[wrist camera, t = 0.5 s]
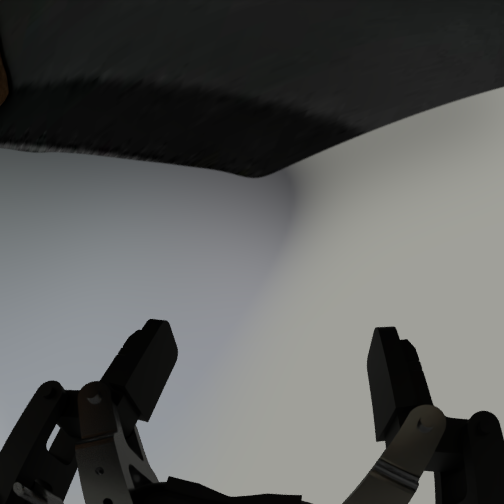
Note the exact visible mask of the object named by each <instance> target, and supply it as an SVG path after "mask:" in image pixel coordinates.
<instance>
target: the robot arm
mask: <svg viewBox="0 0 504 504" xmlns="http://www.w3.org/2000/svg"><path fill="white" fill-rule="evenodd" d="M177 356H178V349H177V345H176V342H175V339H174V336H173V333H172V330H171V327H170V324H169V322H168V321H164V320H156V319H150V320H148V321H147V322H146V324H145V325H144V327H143V328H142V330H137V331H136V332H135V333H133V334H132V335H131V336H130V337H129V338H128V339H127V341H126V342H125V343H124V345H123V348H121V350H120V351H119V353H118V355H117V356H116V357H115V358H114V360H113V362H112V363H111V365H110V366H109V368H108V369H107V371H106V372H105V374H104V376H103V377H102V378H101V380H100V381H94V382H90V383H88V384H86V385H85V386H83V387H82V389H81V390H64V388H63V387H62V386H61V384H60V383H59V382H57V381H48V382H45V383H43V384H42V385H41V386H40V387H39V388H38V390H37V391H36V393H35V394H34V396H33V398H32V399H31V401H30V402H29V404H28V405H27V407H26V409H25V410H24V412H23V413H22V415H21V417H20V419H19V420H18V422H17V423H16V425H15V427H14V428H13V430H12V432H11V434H10V435H9V437H8V439H7V441H6V443H5V444H4V446H3V448H2V450H1V452H0V504H64V503H63V501H64V499H65V496H66V494H67V491H68V489H69V487H70V484H71V482H72V480H73V477H74V475H75V472H76V470H77V468H78V471H79V476H80V482H81V486H82V491H83V495H84V499H85V503H86V504H311V503H309V502H304V501H301V499H302V495H279V494H261V495H252V496H239V497H230V496H226V495H224V494H221V493H219V492H217V491H214V490H212V489H210V488H208V487H205V486H203V485H201V484H199V483H194V482H190V481H185V480H182V479H178V478H174V477H170V476H169V477H168V480H167V482H159V481H158V479H157V477H156V475H155V473H154V472H153V470H152V469H151V467H150V465H149V463H148V461H147V458H146V455H145V452H144V449H143V446H142V443H141V439H140V436H139V433H138V430H137V427H136V425H135V424H136V422H137V420H142V421H146V422H148V421H149V419H150V417H151V415H152V412H153V410H154V408H155V406H156V404H157V401H158V399H159V397H160V395H161V393H162V391H163V389H164V386H165V384H166V382H167V380H168V378H169V376H170V373H171V371H172V369H173V367H174V365H175V363H176V361H177ZM367 372H368V378H369V385H370V391H371V399H372V406H373V414H374V423H375V433H376V441H377V442H378V441H385V443H386V450H385V451H384V452H383V454H382V455H381V457H380V458H379V459H378V461H377V462H376V463H375V465H374V466H373V468H372V469H371V470H370V471H369V473H368V474H367V475H366V477H365V478H364V479H363V480H362V482H361V483H360V484H359V485H358V486H357V488H356V489H355V490H354V491H353V492H352V494H351V495H350V496H349V497H348V498H347V499H346V500H345V501H344V502H343V503H342V504H408V503H409V501H410V500H411V498H412V497H413V495H414V493H415V492H416V490H417V488H418V486H419V483H418V481H419V478H420V477H421V475H422V473H423V471H433V472H434V478H435V499H436V504H504V439H503V435H502V431H501V427H500V423H499V421H498V419H497V417H496V416H495V415H494V414H492V413H490V412H488V411H479V412H477V413H475V414H474V415H473V416H472V417H471V418H470V419H469V420H467V419H456V418H449V417H446V416H445V415H444V414H443V412H442V411H441V410H440V409H439V408H437V407H435V406H434V405H433V403H432V400H431V396H430V393H429V389H428V386H427V383H426V379H425V376H424V373H423V371H422V367H421V364H420V362H419V357H418V354H417V352H416V349H415V348H414V346H413V345H412V344H411V343H410V342H409V341H408V340H407V339H405V340H400V339H399V336H398V333H397V330H396V328H395V327H377V328H375V330H374V333H373V337H372V342H371V346H370V350H369V354H368V358H367ZM56 424H57V425H58V426H59V427H60V430H59V432H58V434H57V436H56V438H55V439H54V441H53V443H52V445H51V447H50V449H49V451H48V450H47V448H46V443H47V441H48V439H49V436H50V435H51V433H52V431H53V429H54V427H55V425H56Z"/></svg>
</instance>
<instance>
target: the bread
mask: <svg viewBox="0 0 504 504" xmlns="http://www.w3.org/2000/svg"><path fill="white" fill-rule="evenodd" d="M8 93H9V88H8V80H7V74H6V71H5V68H4V65H3V62H2V58H1V54H0V106H1V105H2V103H3V102H4V101H5V99H6V97H7V96H8Z"/></svg>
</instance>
